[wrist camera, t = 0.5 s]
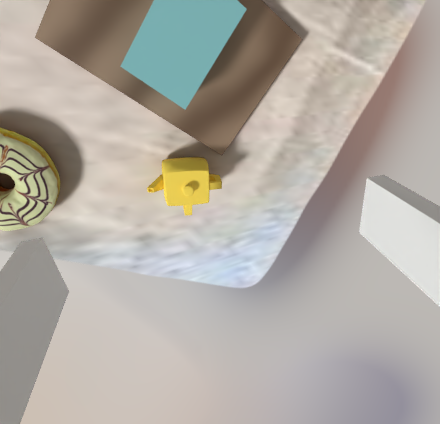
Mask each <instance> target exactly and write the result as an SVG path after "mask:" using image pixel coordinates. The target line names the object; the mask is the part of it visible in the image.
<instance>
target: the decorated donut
mask: <svg viewBox="0 0 440 424" xmlns="http://www.w3.org/2000/svg"><path fill="white" fill-rule="evenodd" d="M0 173H5V174H8V175H9V176H11V177H12V178H13V180H14V181H15V187H14V188H12V189H4V188H3V187H1V186H0V230H4V231H11V230H18V229H22V228H27V227H30V226H32V225H34V224H37V223H39V222H41V221H42V220H43V219H44V218H45V217H46V216H47V215H48V214H49V212H50V211H52V209H53V207H54V206H55V204H56V202H57V198H58V196H59V192H60V177H59V174H58V171H57V169H56V166H55V164H54V163H53V161H52V160H51V158H50V156H49V155H48V154H47V153H46V151H45V150H44V149H43V148H42V147H41V146H40V145H38V144H37V143H36V142H34V141H32V140H31V139H29V138H26V137H25V136H22V135H20V134H18V133H16V132H13V131H8V130H6V129H3V128H0Z"/></svg>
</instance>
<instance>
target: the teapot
mask: <svg viewBox="0 0 440 424" xmlns="http://www.w3.org/2000/svg"><path fill="white" fill-rule="evenodd" d="M162 189H164V195H165V199H166V202H167V205H168V206H182V205H183V207H184V213H185V215H192V205H195V204H203V203H208V202H209V190H212V189H222V181H221V179H220V176H219V175H214V174H209V168H208V163H207V160H206V159H205V158H200V157H184V158H172V159H165V160H163V161H162V175H160V176H159V177H158V178H157V179H156V180H155V181H154V182H153V183H152V184H151V185H150V186H149V187H148V188H147V190H148V192H156V191H159V190H162Z"/></svg>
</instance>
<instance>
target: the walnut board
mask: <svg viewBox="0 0 440 424" xmlns="http://www.w3.org/2000/svg"><path fill="white" fill-rule="evenodd" d="M153 1H154V0H50V1H49V4H48V6H47V9H46V11H45V14H44V16H43V19H42V21H41V24H40V26H39V29H38V31H37V34H36V36H35V38H36V39H38V40H40V41H41V42H43V43H44V44H46V45H48V46H49V47H51V48H52V49H54V50H55V51H57V52H59V53H60V54H62V55H63V56H65V57H67V58H68V59H70V60H71V61H73V62H74V63H76V64H78V65H79V66H81V67H82V68H84V69H86V70H87V71H89V72H90V73H92V74H93V75H95V76H97V77H98V78H100V79H101V80H103V81H105V82H106V83H108V84H109V85H111V86H113V87H114V88H116V89H117V90H119V91H120V92H122V93H124V94H125V95H127V96H128V97H130V98H132V99H133V100H135V101H136V102H138V103H139V104H141V105H143V106H144V107H146V108H147V109H149V110H151V111H152V112H154V113H155V114H157V115H158V116H160V117H162V118H163V119H165V120H166V121H168V122H170V123H171V124H173V125H174V126H176V127H178V128H179V129H181V130H182V131H184V132H185V133H187V134H189V135H190V136H192V137H193V138H195V139H197V140H198V141H200V142H201V143H203V144H204V145H206V146H208V147H209V148H211V149H212V150H214V151H216V152H217V153H219V154H220V155H223V153H224V152H225V150H226V149H227V148H228V146H229V145H230V143H231V142H232V140H233V139H234V137H235V136H236V135H237V133H238V132H239V130H240V129H241V127H242V126H243V124H244V123H245V122H246V120H247V119H248V117H249V116H250V114H251V113H252V111H253V110H254V108H255V107H256V106H257V104H258V103H259V101H260V100H261V98H262V97H263V95H264V94H265V93H266V91H267V90H268V88H269V87H270V85H271V84H272V82H273V81H274V80H275V78H276V77H277V75H278V74H279V72H280V71H281V69H282V68H283V66H284V65H285V64H286V62H287V61H288V59H289V58H290V56H291V55H292V53H293V52H294V51H295V49H296V48H297V46H298V45H299V43H300V42H301V40H302V39H301V38H300V37H299V36H298V35H297V34H296V33H295V32H294V31H293V30H292V29H291V28H290V27H289V26H288V25H287V24H286V23H285V22H284V21H283V20H282V19H281V18H280V17H279V16H278V15H277V14H276V13H275V12H273V11H272V10H271V9H270V8H269V7H268V6H267V5H266V4H265V3H264V2H263V1H262V0H238V1H239V2H240V3H241V4H242V5H243V6H244V7H245V8H246V9H247V10H246V11H245V13H244V15H243V16H242V18H241V20H240V21H239V23H238V24H237V26H236V28H235V29H234V31H233V33H232V34H231V36H230V38H229V39H228V41H227V42H226V44H225V46H224V47H223V49H222V51H221V52H220V54H219V56H218V57H217V59H216V60H215V62H214V64H213V65H212V67H211V69H210V70H209V72H208V74H207V75H206V77H205V78H204V80H203V82H202V83H201V85H200V87H199V88H198V90H197V92H196V93H195V95H194V97H193V98H192V100H191V101H190V103H189V105H188V106H187V108H186V110H185V109H183V108H182V107H180V106H179V105H177V104H176V103H174V102H173V101H171V100H170V99H168V98H167V97H165V96H164V95H162V94H161V93H159V92H158V91H156V90H155V89H153V88H152V87H150V86H149V85H147V84H146V83H144V82H143V81H141V80H140V79H138V78H137V77H135V76H134V75H132V74H131V73H129V72H128V71H126V70H125V69H123V68H122V67H120V66H121V64H122V62H123V60H124V58H125V56H126V54H127V52H128V50H129V48H130V46H131V44H132V43H133V41H134V39H135V37H136V35H137V33H138V31H139V29H140V27H141V25H142V23H143V21H144V19H145V17H146V15H147V13H148V11H149V9H150V7H151V5H152V3H153Z"/></svg>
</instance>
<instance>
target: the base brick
mask: <svg viewBox="0 0 440 424" xmlns="http://www.w3.org/2000/svg"><path fill="white" fill-rule="evenodd" d="M246 10H247V9H246V8H245V7H244V6H243V5H242V4H241V3H240V2H239V1H238V0H154V1H153V3H152V5H151V7H150V9H149V11H148V13H147V15H146V17H145V19H144V21H143V23H142V25H141V27H140V29H139V31H138V33H137V35H136V37H135V39H134V41H133V43H132V44H131V46H130V48H129V50H128V52H127V54H126V56H125V58H124V60H123V62H122V64H121V66H120V67H122V68H123V69H125V70H126V71H128V72H129V73H131V74H132V75H134V76H135V77H137V78H138V79H140V80H141V81H143V82H144V83H146V84H147V85H149V86H150V87H152V88H153V89H155V90H156V91H158V92H159V93H161V94H162V95H164V96H165V97H167V98H168V99H170V100H171V101H173V102H174V103H176V104H177V105H179V106H180V107H182V108H183V109H185V110H186V108H187V106H188V105H189V103H190V101H191V100H192V98H193V97H194V95H195V93H196V92H197V90H198V88H199V87H200V85H201V83H202V82H203V80H204V78H205V77H206V75H207V74H208V72H209V70H210V69H211V67H212V65H213V64H214V62H215V60H216V59H217V57H218V56H219V54H220V52H221V51H222V49H223V47H224V46H225V44H226V42H227V41H228V39H229V38H230V36H231V34H232V33H233V31H234V29H235V28H236V26H237V24H238V23H239V21H240V20H241V18H242V16H243V15H244V13H245V11H246Z"/></svg>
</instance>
